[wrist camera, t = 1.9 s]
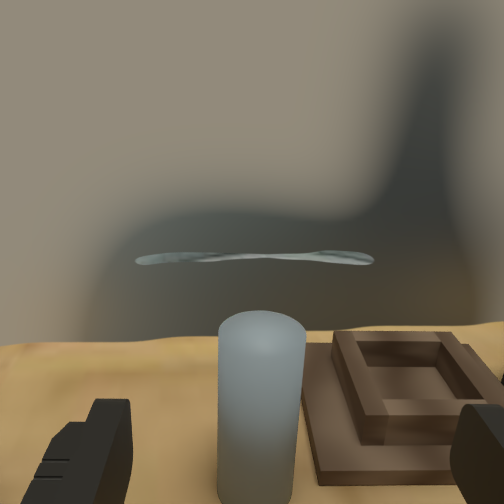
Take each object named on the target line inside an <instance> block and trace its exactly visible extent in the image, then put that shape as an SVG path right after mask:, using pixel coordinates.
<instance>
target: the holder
mask: <svg viewBox="0 0 504 504" xmlns="http://www.w3.org/2000/svg"><path fill="white" fill-rule="evenodd" d="M301 400H302V405H303V410H304V415H305V420H306V424H307V429H308V434H309V439H310V444H311V449H312V454H313V458H314V463H315V468H316V473H317V478H318V483H319V485H438V484H456V482H455V480H454V478H453V475H452V472H451V468H450V450H451V446H452V442H453V439H454V435H455V431H456V427H457V424H458V420H459V416H460V412H461V409H462V407H463V406H464V405H465V404H498V405H500V406H502V407H503V408H504V386H503V385H502V383H501V382H500V381H499V380H498V379H497V378H496V376H495V375H494V374H493V373H492V372H491V370H490V369H489V368H488V367H487V366H486V364H485V363H484V362H483V361H482V360H481V359H480V357H479V356H478V355H477V354H476V353H475V351H474V350H473V349H472V348H471V347H470V345H469V344H461V343H460V342H459V341H458V340H457V338H456V337H455V336H454V335H453V334H452V332H422V331H334V332H333V341H332V343H306V346H305V356H304V367H303V378H302V388H301Z"/></svg>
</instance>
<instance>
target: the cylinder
mask: <svg viewBox="0 0 504 504" xmlns="http://www.w3.org/2000/svg"><path fill="white" fill-rule="evenodd" d="M305 346H306V332H305V329H304V328H303V326H302V325H301V324H300V323H299V322H297V321H296V320H294V319H293V318H291V317H289V316H286V315H283V314H280V313H276V312H271V311H248V312H242V313H239V314H236V315H233V316H231V317H230V318H228V319H226V320H225V321H224V322H223V323H222V324H221V326H220V328H219V339H218V441H217V492H218V496H219V499H220V501H221V503H222V504H288V503H289V501H290V499H291V495H292V485H293V474H294V463H295V453H296V442H297V431H298V421H299V410H300V399H301V388H302V378H303V367H304V356H305Z"/></svg>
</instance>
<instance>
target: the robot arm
mask: <svg viewBox="0 0 504 504" xmlns="http://www.w3.org/2000/svg"><path fill="white" fill-rule="evenodd" d="M132 462H133V441H132V425H131V409H130V401H129V399H96V400H95V401H94V403H93V405H92V407H91V410H90V412H89V414H88V417H87V419H86V422H69V423H68V424H67V425H66V426H65V427H64V428H63V429H62V430H61V431H60V432H58V433H57V434H56V435H55V436H54V437H53V438H52V440H51V442H50V444H49V446H48V448H47V450H46V452H45V454H44V456H43V458H42V463H40V464H39V466H38V468H37V471H36V473H35V475H34V479H33V480H32V481H31V483H30V485H29V487H28V489H27V491H26V493H25V495H24V497H23V499H22V501H21V503H20V504H124V501H125V497H126V493H127V489H128V485H129V481H130V476H131V470H132ZM450 468H451V472H452V475H453V478H454V480H455V482H456V484H457V486H458V488H459V490H460V491H461V493H462V495H463V497H464V499H465V501H466V503H467V504H504V408H503V407H502V406H500V405H498V404H465V405H464V406H463V407H462V409H461V412H460V416H459V420H458V424H457V427H456V431H455V435H454V439H453V442H452V446H451V450H450Z"/></svg>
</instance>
